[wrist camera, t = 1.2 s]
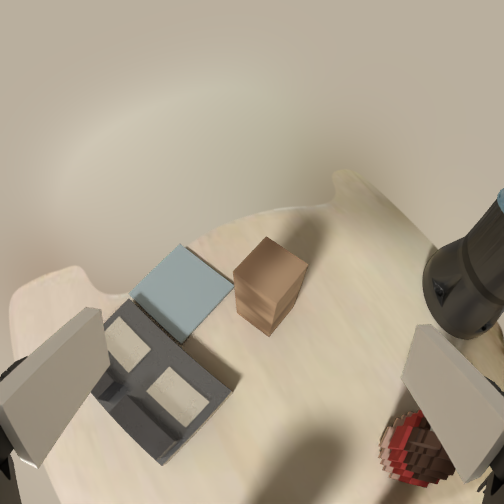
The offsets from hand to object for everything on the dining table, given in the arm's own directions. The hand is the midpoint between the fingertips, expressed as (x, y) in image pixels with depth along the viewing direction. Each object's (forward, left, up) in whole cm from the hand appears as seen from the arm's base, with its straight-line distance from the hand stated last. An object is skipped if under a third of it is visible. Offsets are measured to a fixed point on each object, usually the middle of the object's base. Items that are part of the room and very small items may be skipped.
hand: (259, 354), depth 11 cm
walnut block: (+6, -10, -24) cm, 27 cm away
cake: (-20, -6, -24) cm, 32 cm away
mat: (+16, -5, -24) cm, 29 cm away
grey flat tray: (+11, +7, -24) cm, 27 cm away
